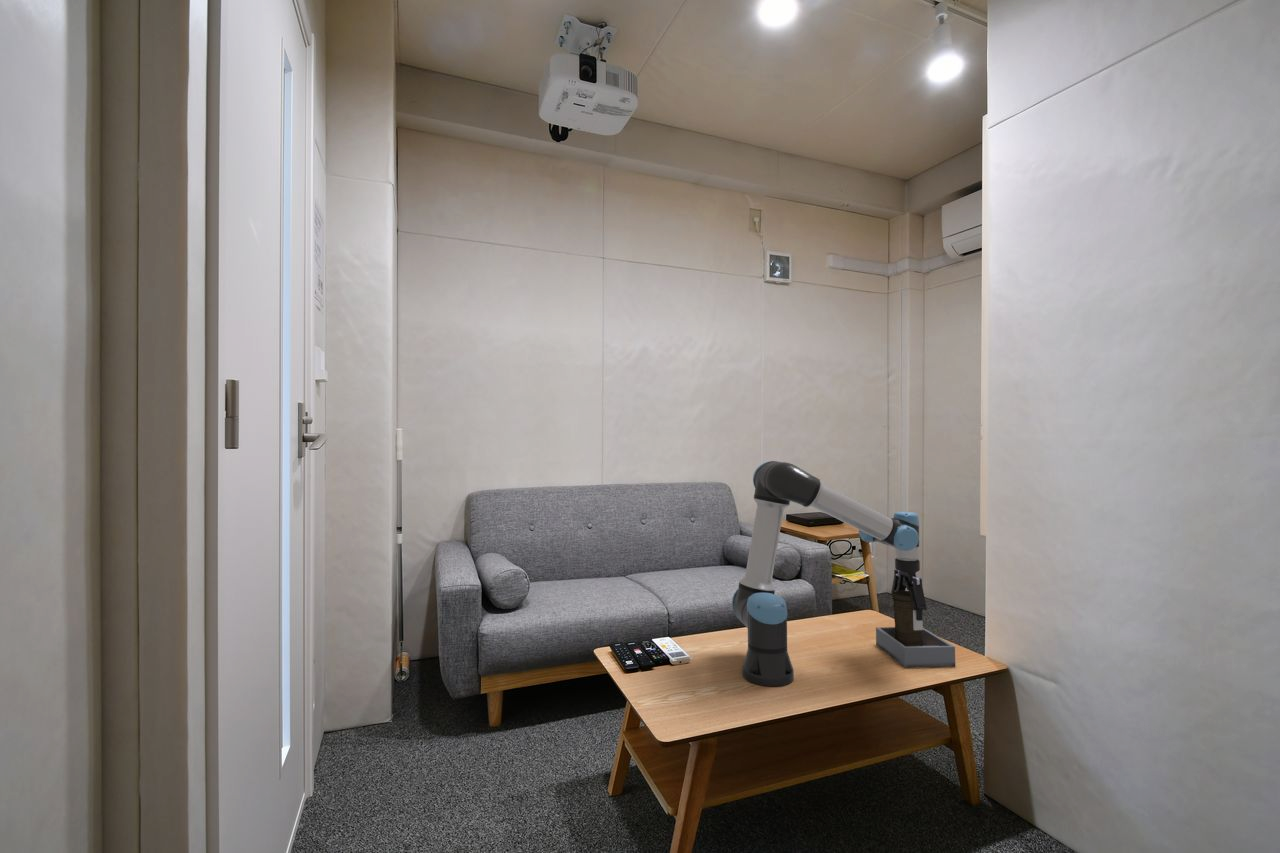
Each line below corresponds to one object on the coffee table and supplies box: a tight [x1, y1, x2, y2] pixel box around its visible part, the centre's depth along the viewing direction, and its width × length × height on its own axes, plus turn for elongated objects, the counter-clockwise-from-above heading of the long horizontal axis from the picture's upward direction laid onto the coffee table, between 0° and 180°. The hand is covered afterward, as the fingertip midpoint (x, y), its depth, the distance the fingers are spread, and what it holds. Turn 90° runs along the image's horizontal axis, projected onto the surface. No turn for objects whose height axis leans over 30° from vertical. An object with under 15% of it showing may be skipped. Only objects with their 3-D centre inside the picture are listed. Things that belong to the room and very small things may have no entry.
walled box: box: [875, 626, 956, 668], centre depth 189 cm, size 16×20×6 cm
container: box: [891, 590, 923, 646], centre depth 192 cm, size 9×9×18 cm
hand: (908, 623), depth 192 cm, fingers open, 11 cm apart
